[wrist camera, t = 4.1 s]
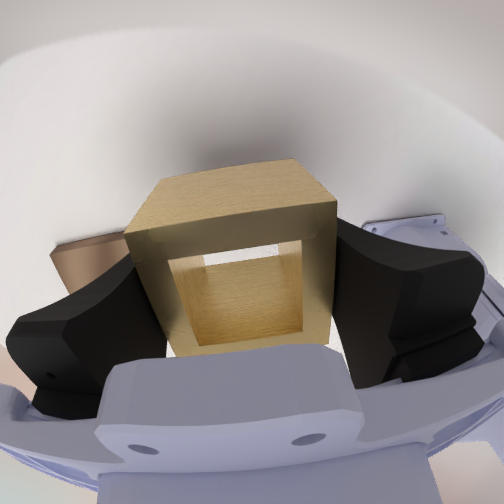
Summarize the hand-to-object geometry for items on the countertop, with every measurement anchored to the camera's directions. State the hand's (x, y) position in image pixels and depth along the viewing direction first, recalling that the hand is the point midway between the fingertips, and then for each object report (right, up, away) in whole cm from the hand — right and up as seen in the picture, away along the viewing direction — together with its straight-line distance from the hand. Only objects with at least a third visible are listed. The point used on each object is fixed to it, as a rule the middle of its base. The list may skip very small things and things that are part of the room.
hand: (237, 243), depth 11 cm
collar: (0, +1, +1) cm, 1 cm away
